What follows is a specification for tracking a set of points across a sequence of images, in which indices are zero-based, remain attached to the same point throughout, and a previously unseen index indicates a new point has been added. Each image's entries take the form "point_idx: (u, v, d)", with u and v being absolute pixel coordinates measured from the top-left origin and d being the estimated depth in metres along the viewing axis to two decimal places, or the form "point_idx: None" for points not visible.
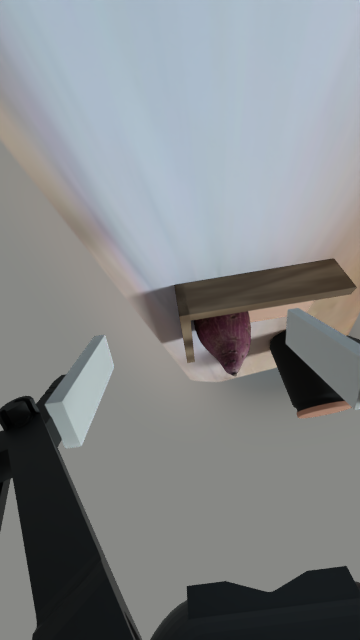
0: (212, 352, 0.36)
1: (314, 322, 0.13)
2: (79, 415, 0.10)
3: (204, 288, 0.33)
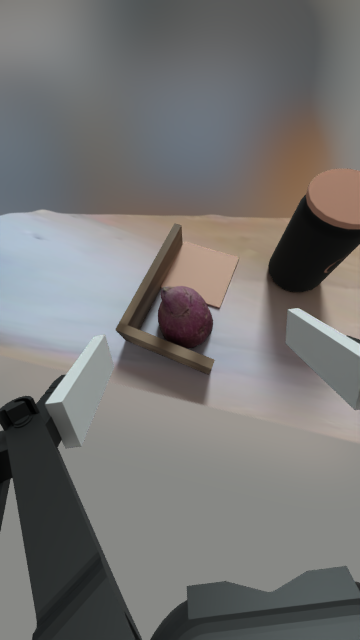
0: (171, 319, 0.34)
1: (314, 322, 0.13)
2: (79, 415, 0.10)
3: None
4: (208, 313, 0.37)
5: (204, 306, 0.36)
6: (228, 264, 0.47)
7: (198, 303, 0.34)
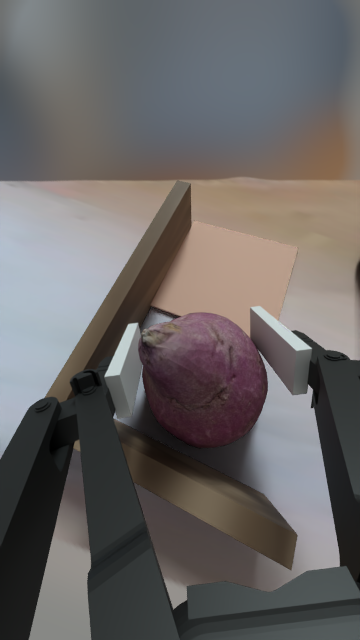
0: (174, 411, 0.12)
1: (268, 318, 0.14)
2: (129, 389, 0.12)
3: None
4: (265, 378, 0.15)
5: (260, 366, 0.13)
6: (279, 260, 0.25)
7: (249, 363, 0.12)
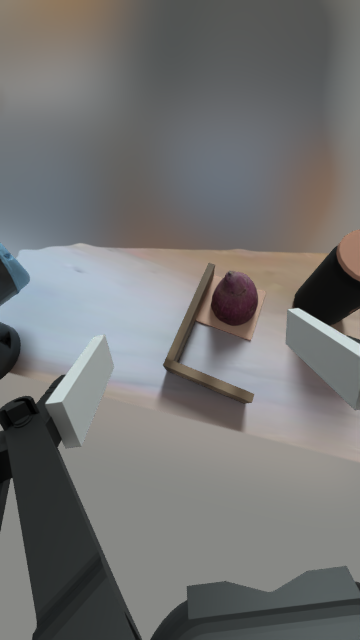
0: (231, 298, 0.42)
1: (314, 322, 0.13)
2: (79, 415, 0.10)
3: None
4: (257, 294, 0.45)
5: (255, 288, 0.44)
6: None
7: (252, 285, 0.42)
